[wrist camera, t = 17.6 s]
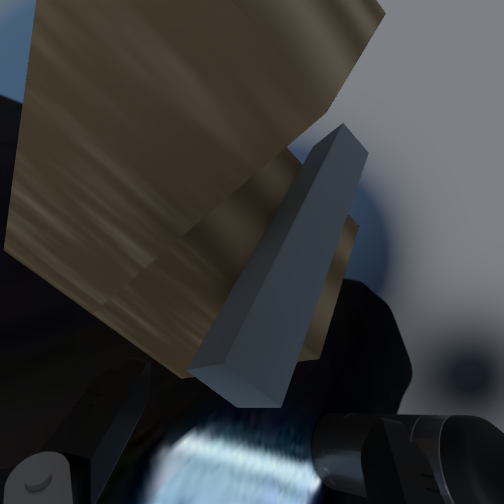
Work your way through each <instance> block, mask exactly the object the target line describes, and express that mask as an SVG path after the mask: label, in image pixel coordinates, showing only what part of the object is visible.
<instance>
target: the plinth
mask: <svg viewBox="0 0 504 504" xmlns="http://www.w3.org/2000/svg"><path fill="white" fill-rule="evenodd" d="M385 14H386V13H385V12H384V10H383V9H382V8H381V6H380V5H379V3H378V2H377V1H376V0H36V7H35V16H34V23H33V30H32V38H31V46H30V54H29V62H28V69H27V76H26V84H25V92H24V99H23V107H22V115H21V122H20V130H19V138H18V145H17V153H16V160H15V168H14V176H13V183H12V191H11V199H10V206H9V214H8V222H7V229H6V237H5V245H4V251H6V252H7V253H9V254H10V255H11V256H13V257H14V258H15V259H17V260H18V261H20V262H21V263H22V264H24V265H25V266H27V267H28V268H29V269H31V270H32V271H33V272H35V273H36V274H38V275H39V276H40V277H42V278H43V279H44V280H46V281H47V282H49V283H50V284H51V285H53V286H54V287H56V288H57V289H58V290H60V291H61V292H62V293H64V294H65V295H67V296H68V297H69V298H71V299H72V300H74V301H75V302H76V303H78V304H79V305H80V306H82V307H83V308H85V309H86V310H87V311H89V312H90V313H92V314H93V315H94V316H96V317H97V318H98V319H100V320H101V321H103V322H104V323H105V324H107V325H108V326H110V327H111V328H112V329H114V330H115V331H116V332H118V333H119V334H121V335H122V336H123V337H125V338H126V339H127V340H129V341H130V342H132V343H133V344H134V345H136V346H137V347H139V348H140V349H141V350H143V351H144V352H145V353H147V354H148V355H150V356H151V357H152V358H154V359H155V360H157V361H158V362H159V363H161V364H162V365H163V366H165V367H166V368H168V369H169V370H170V371H172V372H173V373H175V374H176V375H177V376H179V377H180V378H181V379H182V378H188V377H195V376H194V375H192V374H191V373H190V372H188V371H187V368H188V366H189V364H190V362H191V361H192V359H193V357H194V355H195V354H196V352H197V350H198V348H199V347H200V345H201V343H202V341H203V340H204V338H205V336H206V334H207V333H208V331H209V329H210V327H211V326H212V324H213V322H214V320H215V319H216V317H217V315H218V313H219V311H220V310H221V308H222V306H223V304H224V303H225V301H226V299H227V297H228V296H229V294H230V292H231V290H232V289H233V287H234V285H235V283H236V282H237V280H238V278H239V276H240V275H241V273H242V271H243V269H244V268H245V266H246V264H247V262H248V260H249V259H250V257H251V255H252V253H253V252H254V250H255V248H256V246H257V245H258V243H259V241H260V239H261V238H262V236H263V234H264V232H265V231H266V229H267V227H268V225H269V224H270V222H271V220H272V218H273V217H274V215H275V213H276V211H277V209H278V208H279V206H280V204H281V202H282V201H283V199H284V197H285V195H286V194H287V192H288V190H289V188H290V187H291V185H292V183H293V181H294V180H295V178H296V176H297V174H298V173H299V171H300V169H301V167H302V164H301V162H300V161H299V160H298V159H297V158H296V157H295V156H294V155H293V154H292V153H291V152H290V151H289V150H288V148H287V146H288V145H289V144H290V143H291V142H293V141H294V140H295V139H296V138H297V137H298V136H300V135H301V134H302V133H303V132H304V131H305V130H307V129H308V128H309V127H310V126H311V125H312V124H313V123H315V122H316V121H317V120H318V119H319V118H321V117H322V116H323V115H324V114H325V113H326V112H327V111H328V109H329V107H330V106H331V104H332V102H333V101H334V99H335V97H336V96H337V94H338V92H339V91H340V89H341V87H342V86H343V84H344V82H345V81H346V79H347V77H348V76H349V74H350V72H351V71H352V69H353V67H354V66H355V64H356V62H357V61H358V59H359V57H360V56H361V54H362V52H363V50H364V49H365V47H366V46H367V44H368V42H369V41H370V39H371V37H372V36H373V34H374V32H375V31H376V29H377V27H378V26H379V24H380V22H381V21H382V19H383V17H384V16H385ZM358 227H359V225H358V224H357V223H356V222H355V221H354V220H353V219H352V218H351V217H350V215H347V217H346V220H345V223H344V226H343V229H342V232H341V235H340V238H339V241H338V244H337V246H336V249H335V252H334V255H333V258H332V261H331V264H330V267H329V270H328V273H327V276H326V278H325V281H324V284H323V287H322V290H321V293H320V296H319V299H318V302H317V305H316V308H315V310H314V313H313V316H312V319H311V322H310V325H309V328H308V331H307V334H306V337H305V340H304V342H303V345H302V348H301V351H300V354H299V357H298V360H297V362H298V361H305V360H312V359H319V358H320V354H321V351H322V348H323V344H324V341H325V338H326V334H327V331H328V328H329V324H330V321H331V318H332V314H333V311H334V308H335V304H336V301H337V298H338V294H339V291H340V288H341V284H342V281H343V278H344V274H345V271H346V267H347V264H348V261H349V258H350V254H351V251H352V248H353V244H354V241H355V238H356V234H357V231H358Z"/></svg>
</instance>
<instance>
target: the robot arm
mask: <svg viewBox="0 0 504 504" xmlns="http://www.w3.org/2000/svg"><path fill="white" fill-rule="evenodd" d="M150 370H151V362H149V361H145V360H141V359H137V358H133V357H129V358H128V359H127V360H126V361H125V363H124V364H123V365H122V367H121V368H120V370H119V371H117V370H113V369H108V370H106V371H105V372H103V373H102V374H100V375H99V376H98V377H96V378H95V379H94V380H93V382H92V383H91V384H90V386H89V387H88V388H87V390H86V391H85V393H84V394H83V395H82V396H81V397H80V399H79V400H78V401H77V404H76V405H74V407H73V408H72V409H71V411H70V412H69V413H68V415H67V416H66V417H65V419H64V420H63V421H62V423H61V424H60V425H59V427H58V428H57V429H56V431H55V432H54V433H53V435H52V436H51V437H50V439H49V440H48V441H47V443H46V444H45V445H44V446H43V448H42V449H41V450H40V451H39V452H38V453H37V454H35V455H32V456H30V457H29V458H27V459H25V460H24V461H22V462H21V463H20V464H19V465H17V466H14V467H11V468H7V469H0V504H96V502H97V500H98V498H99V496H100V494H101V492H102V490H103V488H104V486H105V484H106V482H107V480H108V478H109V476H110V474H111V472H112V470H113V468H114V467H115V465H116V463H117V461H118V459H119V457H120V455H121V453H122V451H123V449H124V447H125V445H126V443H127V441H128V439H129V437H130V435H131V433H132V431H133V429H134V427H135V425H136V423H137V422H138V420H139V418H140V416H141V414H142V412H143V409H144V407H145V404H146V401H147V397H148V392H149V381H150ZM312 455H313V461H314V466H315V469H316V471H317V474H318V475H319V477H320V479H321V480H322V482H323V483H324V484H325V485H326V486H328V487H329V488H331V489H335V490H339V491H343V492H348V493H352V494H356V495H359V496H364V497H367V500H368V504H504V433H503V432H502V431H500V430H499V429H498V428H497V427H495V426H494V425H493V424H491V423H490V422H488V421H487V420H485V419H483V418H480V417H476V416H468V415H399V414H346V413H330V414H327V415H325V416H324V417H322V418H321V420H320V421H319V422H318V424H317V426H316V428H315V431H314V434H313V440H312Z"/></svg>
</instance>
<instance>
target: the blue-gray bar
mask: <svg viewBox="0 0 504 504" xmlns="http://www.w3.org/2000/svg"><path fill="white" fill-rule="evenodd" d="M367 156H368V152H367V151H366V149H365V148H364V147H363V146H362V145H361V143H360V142H359V141H358V140H357V139H356V138H355V136H354V135H353V134H352V133H351V132H350V130H349V129H348V128H347V127H346V126H345V124H344V123H343V124H341V125H340V126H339V127H337V128H336V129H335V130H334V131H332V132H331V133H330V134H329V135H327V136H326V137H325V138H323V139H322V140H321V141H320V142H319V143H317V144H316V145H315V146H313V148H312V150H311V151H310V153H309V155H308V157H307V158H306V160H305V162H304V164H303V165H302V167H301V169H300V171H299V173H298V174H297V176H296V178H295V180H294V181H293V183H292V185H291V187H290V188H289V190H288V192H287V194H286V195H285V197H284V199H283V201H282V202H281V204H280V206H279V208H278V209H277V211H276V213H275V215H274V217H273V218H272V220H271V222H270V224H269V225H268V227H267V229H266V231H265V232H264V234H263V236H262V238H261V239H260V241H259V243H258V245H257V246H256V248H255V250H254V252H253V253H252V255H251V257H250V259H249V260H248V262H247V264H246V266H245V268H244V269H243V271H242V273H241V275H240V276H239V278H238V280H237V282H236V283H235V285H234V287H233V289H232V290H231V292H230V294H229V296H228V297H227V299H226V301H225V303H224V304H223V306H222V308H221V310H220V311H219V313H218V315H217V317H216V319H215V320H214V322H213V324H212V326H211V327H210V329H209V331H208V333H207V334H206V336H205V338H204V340H203V341H202V343H201V345H200V347H199V348H198V350H197V352H196V354H195V355H194V357H193V359H192V361H191V362H190V364H189V366H188V368H187V371H188V372H190V373H191V374H192V375H194V376H195V377H196V378H198V379H199V380H200V381H202V382H203V383H205V384H206V385H207V386H209V387H210V388H211V389H213V390H214V391H216V392H217V393H218V394H220V395H221V396H222V397H224V398H225V399H226V400H228V401H229V402H231V403H232V404H233V405H235V406H236V407H260V408H281V406H282V403H283V401H284V398H285V395H286V392H287V389H288V386H289V383H290V380H291V377H292V374H293V371H294V369H295V366H296V363H297V360H298V357H299V354H300V351H301V348H302V345H303V342H304V340H305V337H306V334H307V331H308V328H309V325H310V322H311V319H312V316H313V313H314V310H315V308H316V305H317V302H318V299H319V296H320V293H321V290H322V287H323V284H324V281H325V278H326V276H327V273H328V270H329V267H330V264H331V261H332V258H333V255H334V252H335V249H336V246H337V244H338V241H339V238H340V235H341V232H342V229H343V226H344V223H345V220H346V217H347V215H348V211H349V209H350V206H351V203H352V200H353V197H354V194H355V191H356V188H357V185H358V182H359V179H360V177H361V174H362V171H363V168H364V165H365V162H366V159H367Z"/></svg>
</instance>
